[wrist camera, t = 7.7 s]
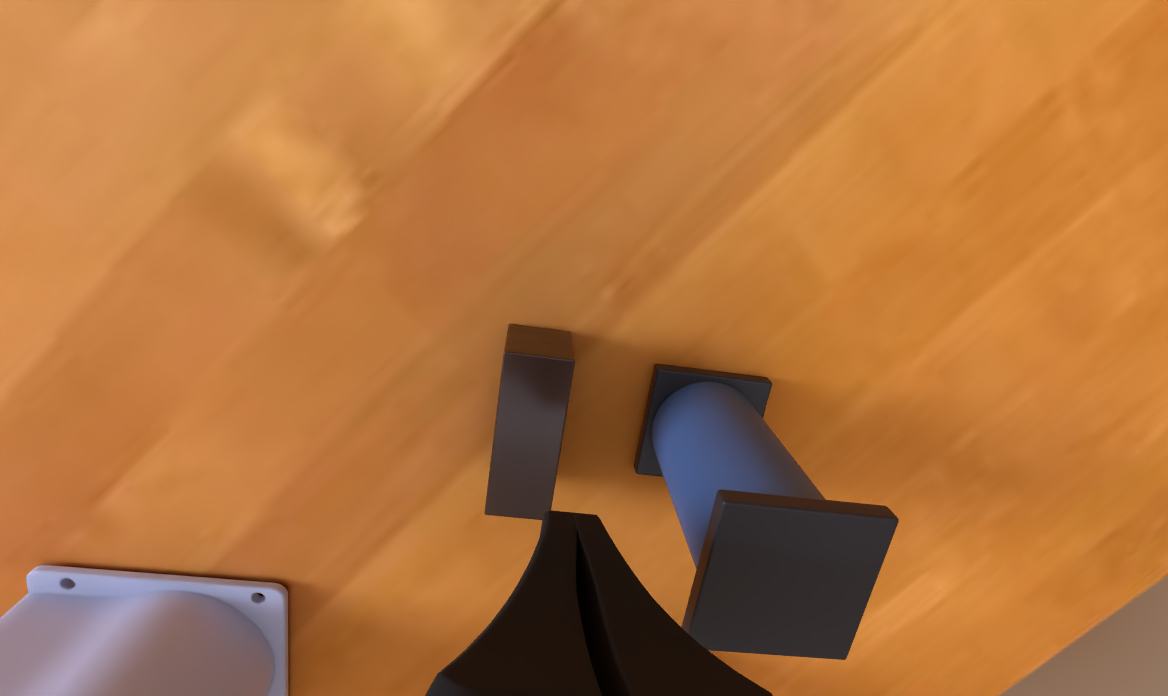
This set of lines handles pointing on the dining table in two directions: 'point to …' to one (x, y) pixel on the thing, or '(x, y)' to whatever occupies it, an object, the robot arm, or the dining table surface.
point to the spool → (757, 522)
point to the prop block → (529, 421)
